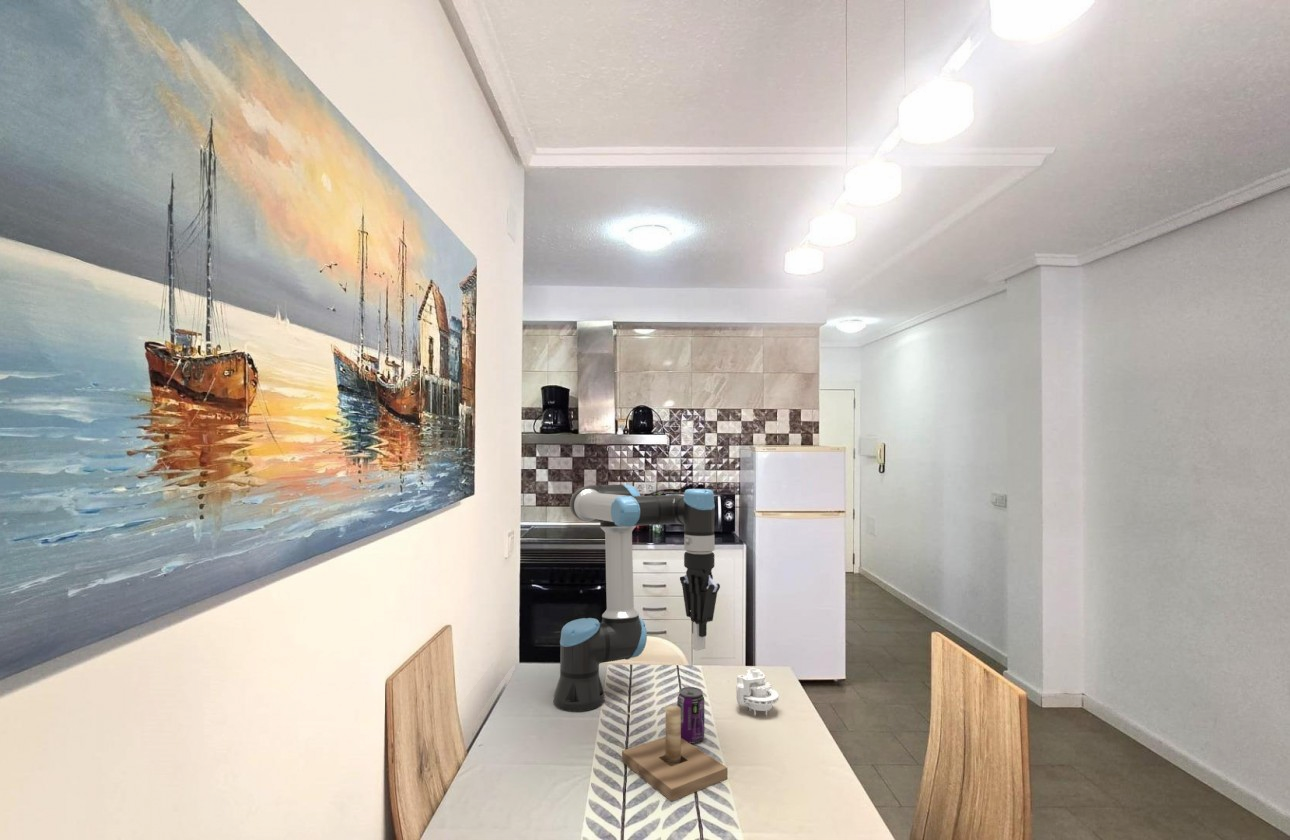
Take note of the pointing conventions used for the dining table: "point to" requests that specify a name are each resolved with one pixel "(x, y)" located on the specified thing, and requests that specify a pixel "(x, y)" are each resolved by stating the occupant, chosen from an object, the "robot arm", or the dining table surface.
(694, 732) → the beverage can
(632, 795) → the dining table surface
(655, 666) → the dining table surface
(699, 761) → the board
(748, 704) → the mechanical part
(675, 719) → the peg
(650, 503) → the robot arm
